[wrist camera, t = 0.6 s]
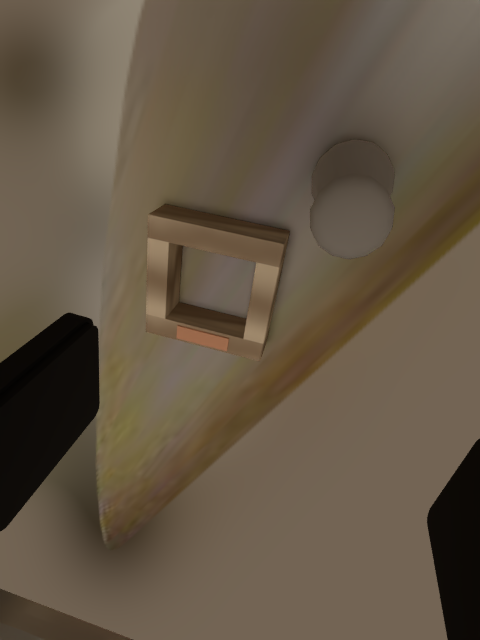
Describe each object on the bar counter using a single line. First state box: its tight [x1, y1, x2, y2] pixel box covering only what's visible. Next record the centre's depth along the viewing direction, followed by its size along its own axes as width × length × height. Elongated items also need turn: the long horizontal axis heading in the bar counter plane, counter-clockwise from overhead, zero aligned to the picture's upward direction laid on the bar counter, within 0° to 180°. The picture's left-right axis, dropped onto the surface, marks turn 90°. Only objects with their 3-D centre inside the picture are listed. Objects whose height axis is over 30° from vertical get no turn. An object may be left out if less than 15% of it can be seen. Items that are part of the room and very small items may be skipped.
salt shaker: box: [310, 139, 395, 259], centre depth 26 cm, size 6×6×13 cm
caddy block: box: [146, 204, 290, 361], centre depth 37 cm, size 12×11×4 cm
